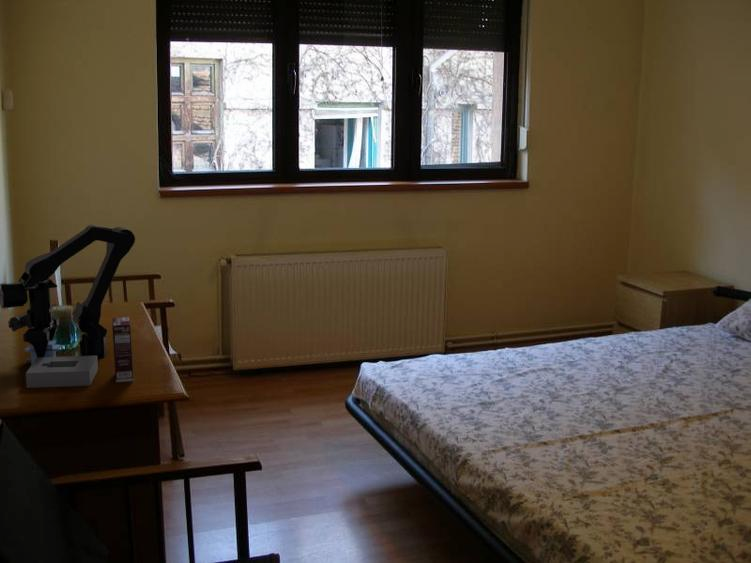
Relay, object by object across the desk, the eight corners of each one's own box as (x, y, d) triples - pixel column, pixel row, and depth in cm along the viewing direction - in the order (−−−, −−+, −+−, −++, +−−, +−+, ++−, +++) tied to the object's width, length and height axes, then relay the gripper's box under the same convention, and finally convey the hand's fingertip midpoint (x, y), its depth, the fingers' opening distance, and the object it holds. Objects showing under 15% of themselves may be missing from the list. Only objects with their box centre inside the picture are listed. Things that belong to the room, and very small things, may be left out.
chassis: (97, 369, 250) (97, 355, 249) (90, 385, 237) (89, 371, 236) (38, 371, 248) (37, 357, 247) (26, 387, 234) (25, 373, 233)
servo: (61, 360, 258) (60, 340, 257) (59, 364, 254) (57, 344, 253) (28, 361, 257) (27, 341, 255) (25, 365, 253) (24, 345, 251)
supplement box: (114, 373, 247) (111, 317, 244) (132, 371, 248) (130, 316, 245) (115, 383, 239) (112, 325, 236) (133, 381, 240) (131, 324, 237)
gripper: (17, 297, 259) (21, 348, 263) (1, 312, 241) (5, 368, 245) (57, 296, 261) (61, 347, 265) (44, 311, 243) (48, 366, 246)
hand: (43, 357), depth 255 cm, fingers open, 7 cm apart
